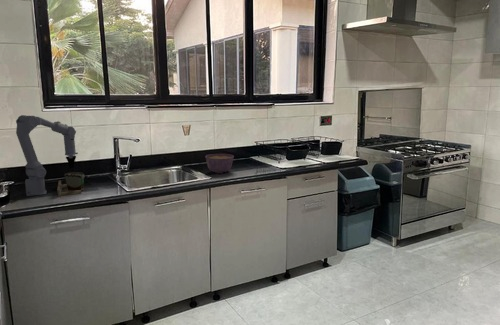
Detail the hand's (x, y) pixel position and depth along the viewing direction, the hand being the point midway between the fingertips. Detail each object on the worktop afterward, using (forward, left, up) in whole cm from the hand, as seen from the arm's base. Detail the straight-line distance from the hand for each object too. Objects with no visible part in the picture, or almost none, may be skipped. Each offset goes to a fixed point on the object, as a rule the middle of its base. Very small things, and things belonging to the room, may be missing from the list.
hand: (72, 167), depth 229 cm
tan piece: (-2, -15, -10) cm, 18 cm away
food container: (+2, -15, -11) cm, 19 cm away
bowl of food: (+94, -7, -11) cm, 95 cm away
